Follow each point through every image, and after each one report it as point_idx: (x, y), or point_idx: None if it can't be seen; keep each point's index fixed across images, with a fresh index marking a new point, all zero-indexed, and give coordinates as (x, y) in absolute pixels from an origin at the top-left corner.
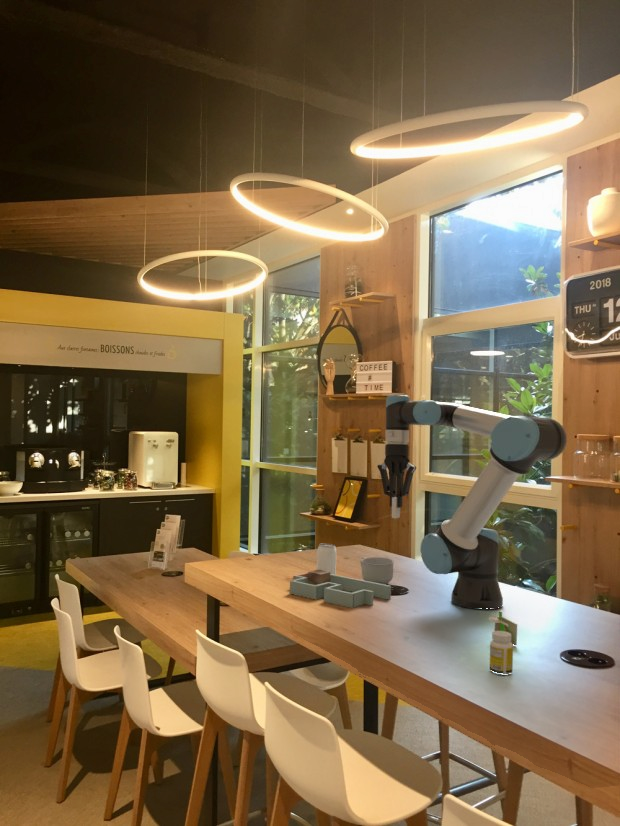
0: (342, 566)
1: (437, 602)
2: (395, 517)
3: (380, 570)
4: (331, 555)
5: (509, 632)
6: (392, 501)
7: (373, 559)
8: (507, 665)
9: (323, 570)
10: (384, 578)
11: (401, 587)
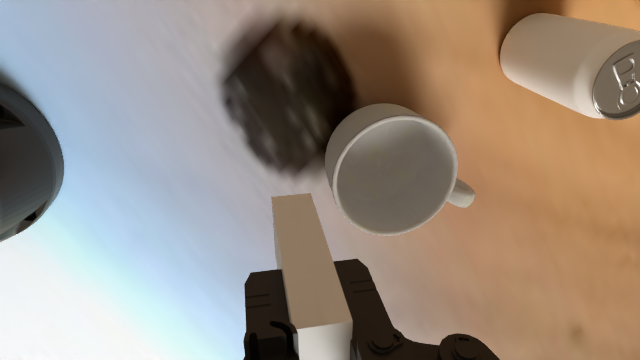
0: (552, 253)
1: (64, 64)
2: (275, 199)
3: (351, 128)
4: (571, 53)
5: None
6: (334, 287)
7: (429, 208)
8: None
9: (556, 19)
10: (334, 132)
11: (284, 161)
